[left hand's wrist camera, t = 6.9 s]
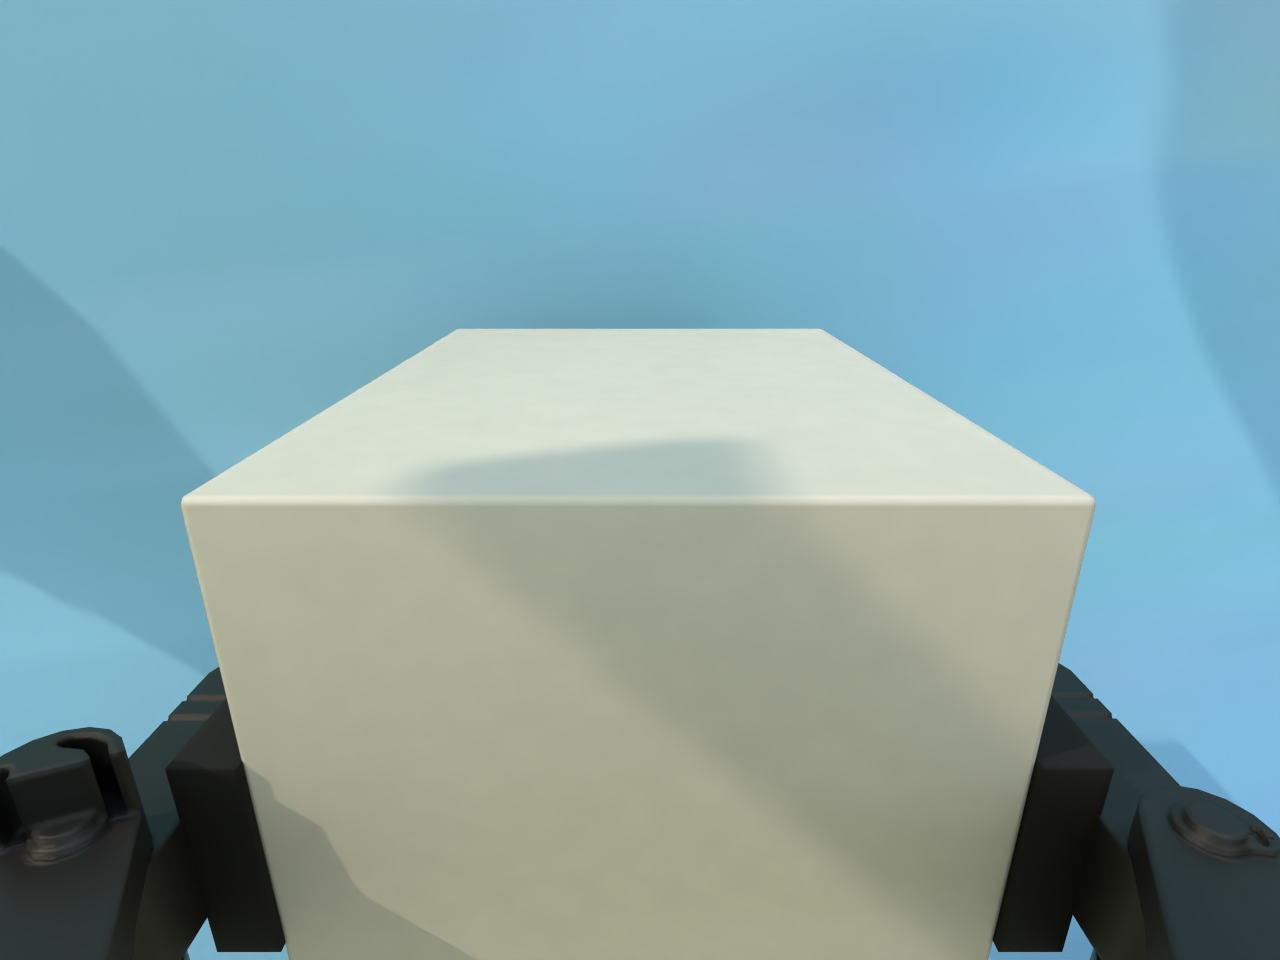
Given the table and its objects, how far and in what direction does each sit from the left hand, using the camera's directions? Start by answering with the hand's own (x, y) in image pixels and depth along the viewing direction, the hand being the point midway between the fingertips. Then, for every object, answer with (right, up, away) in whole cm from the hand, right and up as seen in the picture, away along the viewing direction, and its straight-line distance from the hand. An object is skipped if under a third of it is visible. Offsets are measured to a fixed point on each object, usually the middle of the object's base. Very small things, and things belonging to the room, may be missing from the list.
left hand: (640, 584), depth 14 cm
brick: (0, +1, +4) cm, 4 cm away
